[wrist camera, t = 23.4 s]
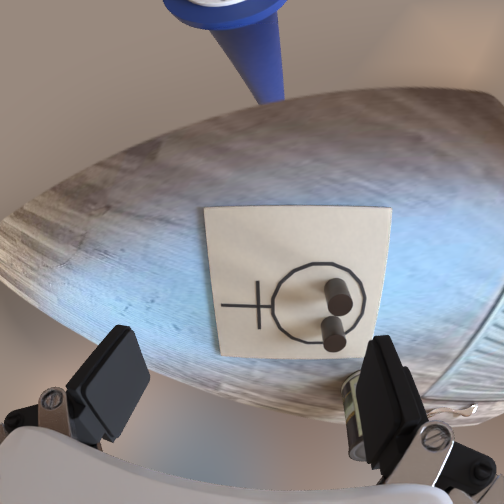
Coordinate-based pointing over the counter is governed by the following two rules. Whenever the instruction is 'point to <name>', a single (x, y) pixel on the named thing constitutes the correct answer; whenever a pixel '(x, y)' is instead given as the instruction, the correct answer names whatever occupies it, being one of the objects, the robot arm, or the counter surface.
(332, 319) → the dot
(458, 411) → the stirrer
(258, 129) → the counter surface
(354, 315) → the board
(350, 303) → the dot
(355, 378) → the coffee can
